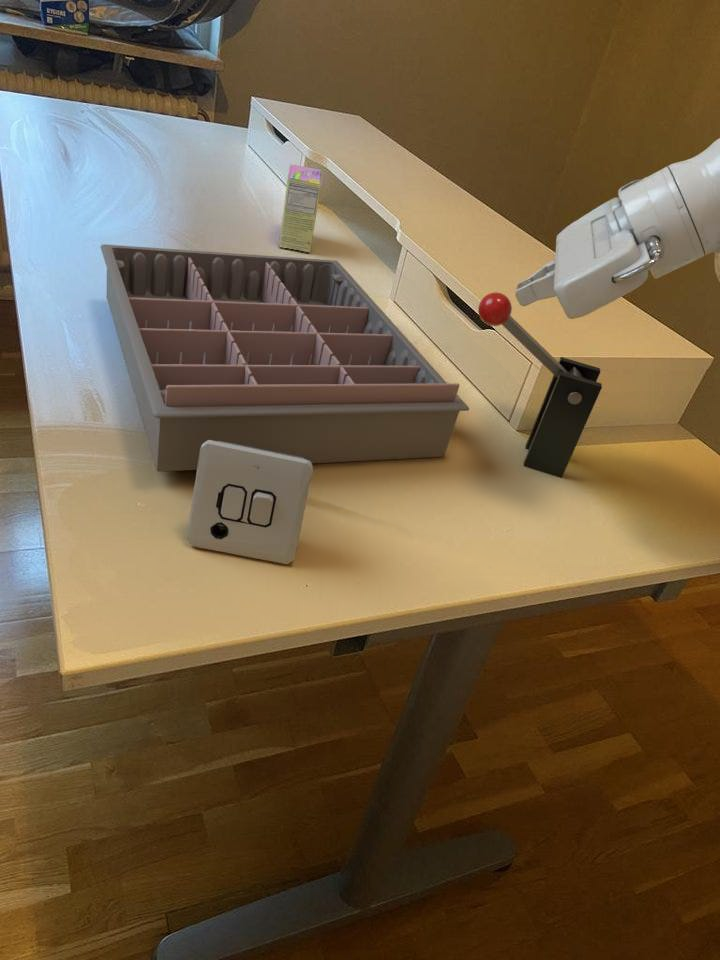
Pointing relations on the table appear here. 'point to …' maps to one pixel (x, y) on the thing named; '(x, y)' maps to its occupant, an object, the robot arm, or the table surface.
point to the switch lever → (518, 330)
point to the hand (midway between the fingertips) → (518, 296)
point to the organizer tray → (270, 359)
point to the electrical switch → (248, 501)
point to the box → (300, 208)
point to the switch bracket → (562, 418)
